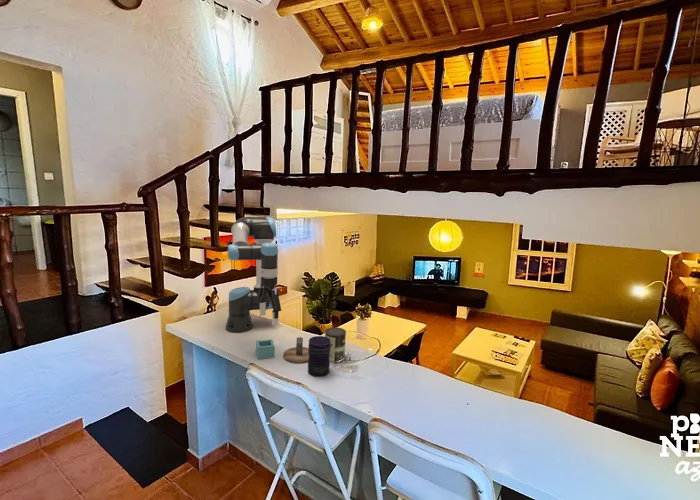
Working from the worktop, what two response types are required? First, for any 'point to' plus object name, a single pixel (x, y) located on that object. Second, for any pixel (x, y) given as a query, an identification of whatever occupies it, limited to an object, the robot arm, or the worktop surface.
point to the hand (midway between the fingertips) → (268, 319)
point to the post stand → (297, 353)
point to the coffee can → (336, 343)
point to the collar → (265, 349)
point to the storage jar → (318, 356)
